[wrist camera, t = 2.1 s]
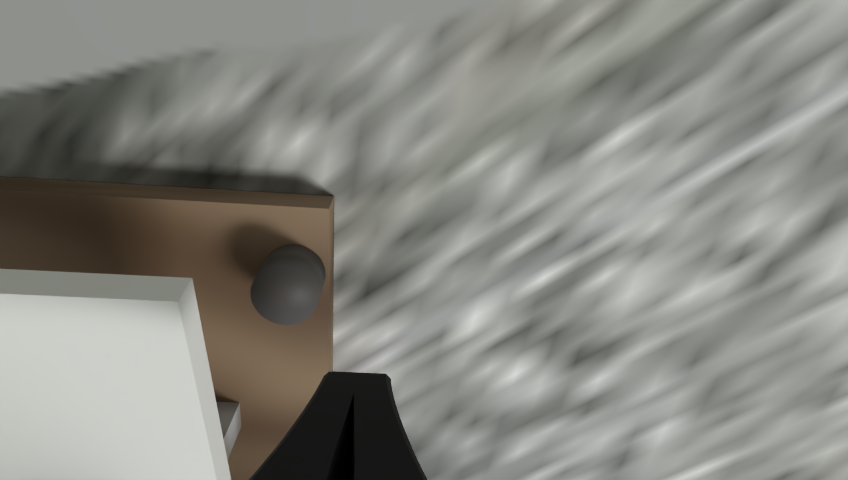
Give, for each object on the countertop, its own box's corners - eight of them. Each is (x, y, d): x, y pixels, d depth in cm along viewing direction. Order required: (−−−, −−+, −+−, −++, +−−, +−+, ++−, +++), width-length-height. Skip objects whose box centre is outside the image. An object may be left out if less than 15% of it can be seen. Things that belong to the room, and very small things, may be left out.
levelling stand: (330, 540, 26) (318, 627, 22) (-5, 534, 25) (-79, 625, 21) (334, 196, 19) (317, 236, 15) (-123, 169, 18) (-263, 205, 14)
